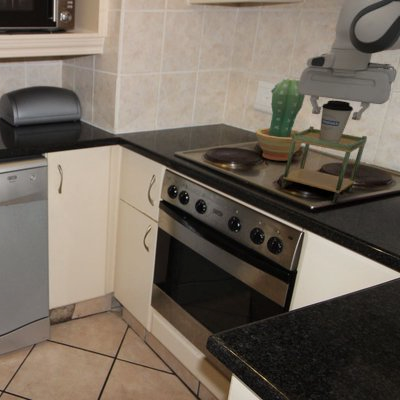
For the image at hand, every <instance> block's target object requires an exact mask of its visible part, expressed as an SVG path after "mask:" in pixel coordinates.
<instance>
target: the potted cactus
mask: <svg viewBox="0 0 400 400" xmlns="http://www.w3.org/2000/svg"><path fill="white" fill-rule="evenodd" d="M299 80H300V79H297V80H296V79H295V78H294V79H289V78H287V79H286V78H285V79H283V80H281V81H280V82H279V83H276V84H275V85H274V87H272V89H271V90H270V92H271V104H270V105H271V112H272V114H271V121H270V126H269V127H268V128H267V127H266V128H259V129H257V130H255V137H256V138H257V141H258V144H259V147H260V149H261V150H262V152H263V153H262V155H261V156H262V157H263V158H265V159H268V160H273V161H285V162H286V161H287V160H288V156H289V151H290V147H291V142H292V141H291V140H292V136H293V133H299V132H301V130H297V129H296V130H295V129H293V128H294V125H295V121H296V119H297V116H298V114H299V112H300V111H301V109H302V108H303V104H304V101H305V96H306V95H301V94H299V93H298V91H297V88H298V84H299ZM302 144H303V143H300V142H296V144H295V148H294V152H293V155H294V154H295V153H296V152H297V151H299V149H300V148H301V145H302Z"/></svg>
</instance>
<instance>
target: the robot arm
mask: <svg viewBox="0 0 400 400" xmlns="http://www.w3.org/2000/svg"><path fill="white" fill-rule="evenodd" d="M334 29H335V38H334V41H333V43H332V44H331V47H330V50H329V51H330V52H329V53H322V54H320V55H315V56H311V57H309V58H308V59H307V60H306V66H307V67H305V68H304V69H303V71H302V72H301V75H300V77H299V79H298V80H299V84H298V88H297V91H298V93H299V94H301V95H305V96H310V97H309V101H310V104H311V106H312V109H311V110H312V111H311V114H312V115H320V114H321V113H322V111H321V110H322V106H319V104H318V100H320V98H325V99H332V100H334V99H335V100H340V101H350V102H357V103H360V107H361V108H360V109H359V110H358V111H354V112H353V113H352V117H351V120H353V121H360V120H361V119H362V115H363V113H364V112H365V111H367V109H369V107H370V105H371V104H373V105H383V104H385V103H386V102H388V101H389V99H390V96H391V91H392V84H393V82H394V81H395V80H396V76H397V68H395V66H392V64H391V63H377V62H371V60H372V55H373V54H377V53H381V52H386V51H395V50H397V51H398V50H400V0H343V3H342V4H341V7H340V11H339V13H338V17H337V21H336V24H335V28H334Z"/></svg>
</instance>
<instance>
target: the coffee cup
mask: <svg viewBox="0 0 400 400" xmlns="http://www.w3.org/2000/svg"><path fill="white" fill-rule="evenodd" d="M350 104H351V103H350V102H348V101H345V100H334V99H332V100H328V101H327V103H324V104H322V105H321V108H322V109H321V110H322V111H321V120H320V127H319V128H320V129H319V130H320V137H319V140H324V141H329V142H334V143H337V142H339V141H340V138H341V136H342V134H344V131H345V129H346V126H347V124H348V121H349V119H350V116H351V114H352V111H354V108H353V106H351V105H350Z"/></svg>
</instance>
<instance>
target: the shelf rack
mask: <svg viewBox="0 0 400 400" xmlns="http://www.w3.org/2000/svg"><path fill="white" fill-rule="evenodd" d="M314 127H315V126H312V125H311V126H309V128H307V129H304V130H301V131H300V132H299V133H293V136H292V140H291V141H292V142H291V147H290V151H289V156H288V160H286V161H287V162H286V165H285V170H284V174H283V176H282V183H281V187H280V188H281V189H286V186H287V183H288V181H291V182H295V183H299V184H302V185H306V186H308V187H309V186H310V187H314V188H318V189H321V190H326V191H328V192H333V193H334V194H333V197H332V203H336V204H337V203H338V200H339V196H340V193H341V192H343V191H344V190H346V192H347V193H352V190H353V188H354V184H355V181H356V176H357V173H358V171H359V166H360V162H361V160H362V155H363V153H364V148H365V146H366V144H367V143H366V142H367V139H368V136H367V135H362V136H356V135H350V134H345V133H342V136H341V138H340V141H339V142H337V143H334V142H329V141H324V140H319V137H320V129H318V128H314ZM296 142H300V143H302V144H304V148H303V153H302V158H301V162H300V166H299V168H298V169H296V170H294V171H292V172H290V170H291V164H292V161H293V156H294V154H293V152H294V148H295V144H296ZM310 146H315V147H320V148H325V149H329V150H335V151H339V152H344V157H343V160H342V164H341V168H340V172H339V176H337V175H335V174H334V175H333V174H329V173H325V172H321V171H317V170H312V169H308V168H305V165H306V161H307V157H308V152H309V149H310ZM357 149H358V151H357V154H356V158H355V161H354V164H353V168H352V172H351V175H350V178H347V177H346V178H345V174H346V171H347V167H348V164H349V160H350V156H351V153H352V152H354V151H355V150H357Z"/></svg>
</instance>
